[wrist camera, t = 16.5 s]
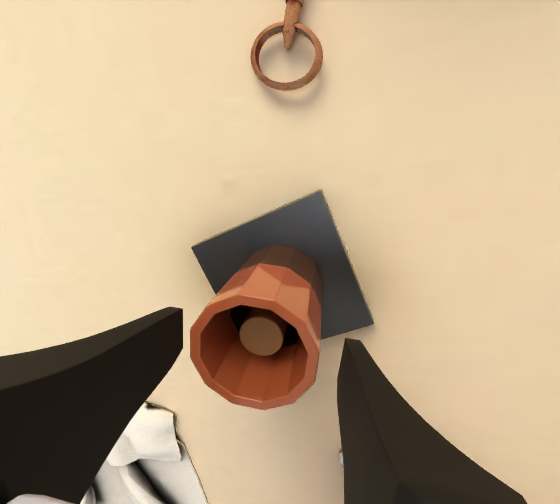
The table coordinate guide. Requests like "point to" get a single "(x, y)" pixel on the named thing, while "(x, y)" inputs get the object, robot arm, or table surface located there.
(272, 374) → the terracotta ring
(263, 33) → the key
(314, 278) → the walnut ring
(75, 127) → the table surface
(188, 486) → the cloth
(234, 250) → the peg stand
